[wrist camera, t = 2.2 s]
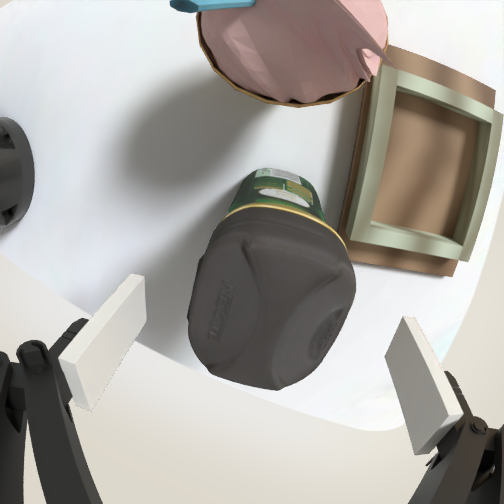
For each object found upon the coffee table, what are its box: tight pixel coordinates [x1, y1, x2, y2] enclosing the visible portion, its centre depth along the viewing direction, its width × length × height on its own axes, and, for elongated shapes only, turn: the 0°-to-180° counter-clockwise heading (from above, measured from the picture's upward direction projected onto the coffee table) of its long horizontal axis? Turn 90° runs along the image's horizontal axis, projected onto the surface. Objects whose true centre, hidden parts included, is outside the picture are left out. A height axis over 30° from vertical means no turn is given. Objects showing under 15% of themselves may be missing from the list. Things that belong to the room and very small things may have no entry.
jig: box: [337, 44, 503, 277], centre depth 25 cm, size 15×22×4 cm
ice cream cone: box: [170, 0, 397, 108], centre depth 15 cm, size 11×11×20 cm
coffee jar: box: [187, 168, 356, 391], centre depth 22 cm, size 10×8×19 cm
